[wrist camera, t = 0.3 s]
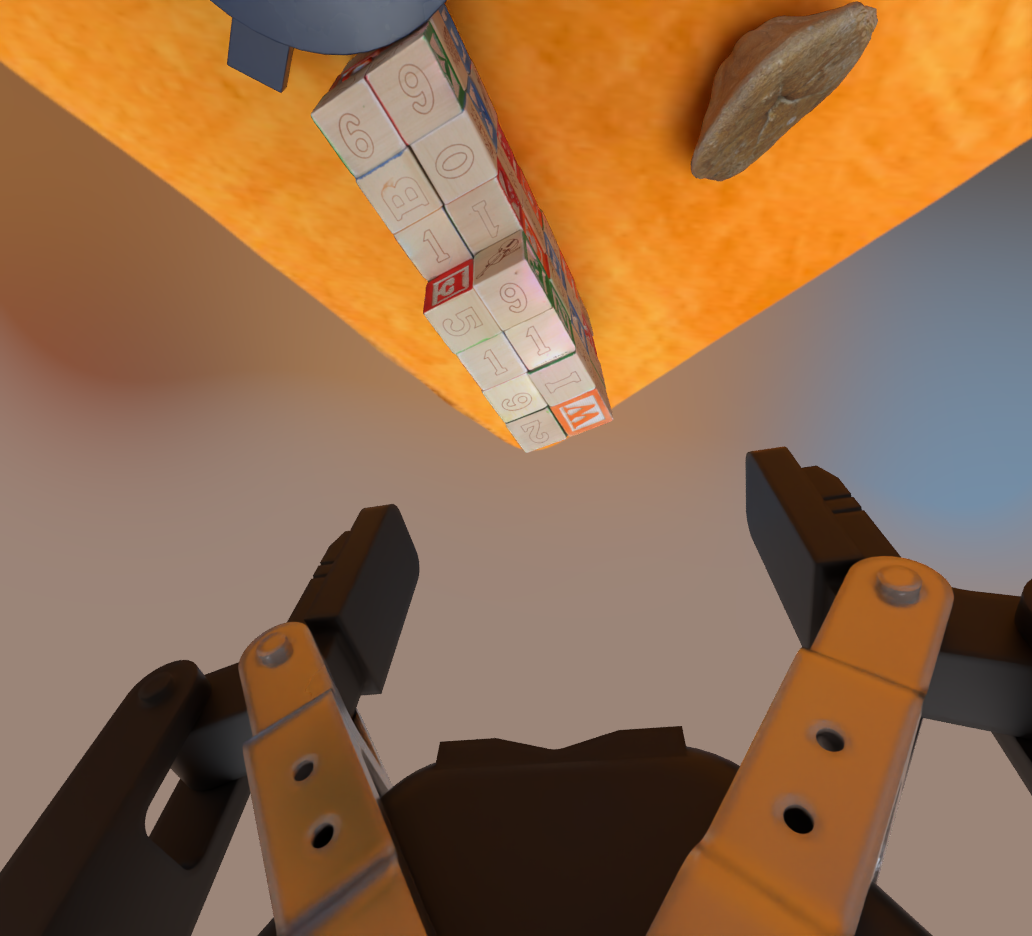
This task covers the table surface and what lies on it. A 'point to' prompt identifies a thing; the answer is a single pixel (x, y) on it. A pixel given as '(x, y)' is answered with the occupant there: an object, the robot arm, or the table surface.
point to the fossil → (776, 84)
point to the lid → (332, 22)
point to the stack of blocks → (469, 229)
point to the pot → (259, 56)
